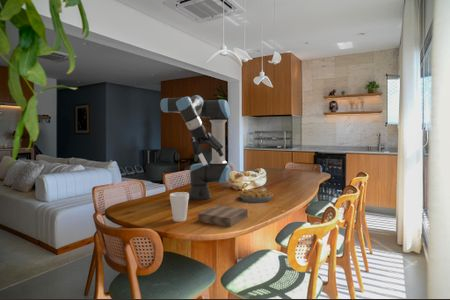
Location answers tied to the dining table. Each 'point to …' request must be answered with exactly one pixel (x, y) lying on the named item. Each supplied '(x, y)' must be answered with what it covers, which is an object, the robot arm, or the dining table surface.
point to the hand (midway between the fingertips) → (214, 163)
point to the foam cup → (179, 205)
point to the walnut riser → (223, 215)
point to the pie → (255, 195)
